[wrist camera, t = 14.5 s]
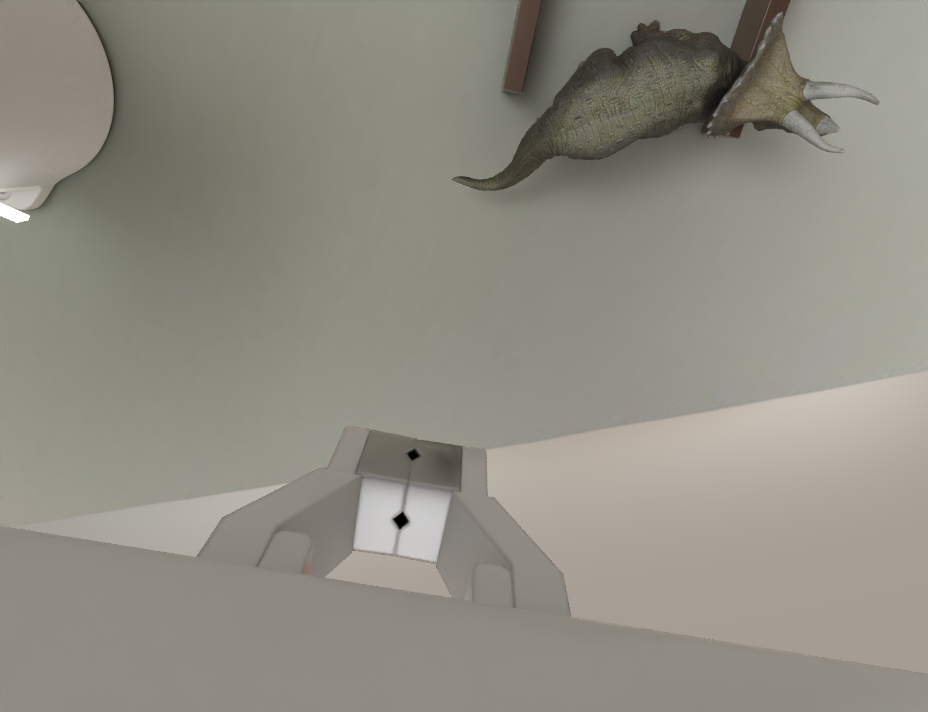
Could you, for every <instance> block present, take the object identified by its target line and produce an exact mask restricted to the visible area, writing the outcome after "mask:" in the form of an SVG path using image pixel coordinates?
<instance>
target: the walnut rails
mask: <svg viewBox="0 0 928 712" xmlns="http://www.w3.org/2000/svg"><path fill="white" fill-rule="evenodd" d="M541 1H542V0H519V3H518V8H517V14H516V19H515V24H514V29H513V34H512V39H511V44H510V49H509V54H508V59H507V64H506V69H505V74H504V79H503V85H502V90H501V91H503V92H507V93H512V94H517V95H518V94H520V93H521V92H522V91H523V86H524V82H525V77H526V72H527V67H528V63H529V58H530V53H531V49H532V44H533V39H534V34H535V30H536V25H537V20H538V15H539V11H540V6H541ZM789 3H790V0H747V1H746V4H745V7H744V10H743V13H742V16H741V19H740V22H739V25H738V28H737V30H736V33H735V36H734V39H733V42H732V45H731V48H730V50H732V51H734V52H736V53H737V54H738V55H739V57H740V58H741V59H742V60H744V61H746V62H748V61H749V59H750V57H751V56H752V54H753V52H754V50H755V48H756V46H757V44H758V42H759V40H760V38H761V36H762V34H763V32H764V30H765V29H766V27H767V25H768V24H769V23H770V22H771V21H772V20H773V19H774V17H775V16H776V15H777V14H778V13H781V12H783V15H782V16H783V19H784V16H785V13H786V11H787V8H788V5H789ZM713 114H714V112H713V113H712V115H711V116H710V117H709V118H707V119H706V121H705V123H704V126H703V129H702V132H701V133H702V134H704V135H709V134H706V133H707V131H708V129H709V128H707V125H708V123H709V121H710V119H711V117H712V116H713ZM744 124H745V123H744ZM744 124H742V125H739V126H738V127H736V128H734V129H733V130H732V131H731V132H730V134H729V135H728V136H727V135H725V134H720V135H719V136H718V137H724V138H739V137H740V134H741V132H742V129H743V126H744Z"/></svg>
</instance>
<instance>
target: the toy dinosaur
mask: <svg viewBox="0 0 928 712" xmlns="http://www.w3.org/2000/svg"><path fill="white" fill-rule="evenodd" d="M782 15H783V12H781V13H778V14H777V15H776V16H775V17H774V19H773V20H772V21H771V22H770V23H769V24H768V25H767V27H766V29H765V30H764V32H763V34H762V36H761V38H760V40H759V42H758V44H757V46H756V48H755V50H754V52H753V54H752V56H751V57H750V59H749V61H748V62H746V61H744V60H742V59H741V58H740V57H739V55H738V54H737V53H736V52H734V51H732V50H730V49H729V48H728V47H726V46H725V45H723V44H722V43H721V42H720V40H719V38H718V37H717V36H716V35H715V34H713V33H709V32H702V33H692V32H689V31H687V30H685V29H673V30H670V31H659V24H660V23H659V21H658V20H655V21H654V22H652V23H651V24H650V25H649V26H648V27H646V26H645V25H644V24H643V23H640V24H639V25H638V30H637V31H633V32H632V34H631V38H632V41H633V47H629V48H628V49H627V50H625V51H624V52H623V53H622V54H621V55H620V56H616V54H615V52H614V51H613V50H611V49H609V48H601V49H598V50H596V51H594V52H593V53H592V54H591V55H590V56H589V57H588V58H587V59H586V60H585V62H584V61H582V62H581V63H580V65H579V67H578V69H577V71H576V72H575V73H574V74H573V76H572V77H571V78H570V80H569V81H568V82H567V83H566V85H565V86H564V87H563V88H562V89H561V91H560V92H559V93H558V94H557V95H556V96H555V98H554V102H553V106H552V107H550V108H548V109H547V110H546V112H545V113H544V114H543V115H542V117H541V118H537V121H536V122H535V123H534V124H533V125H532V126H531V128H530V129H529V130H528V131H527V132H526V134H525V136H524V137H523V139H522V140H521V142H520V144H519V146H518V149H517V151H516V153H515V155H514V157H513V160H512V162H511V163H510V164H509V165H508V167H507V168H505V169H504V170H503V171H502V172H500V173H499V174H497V175H495V176H494V177H491V178H488V179H481V180H478V179H472V178H469V177H464V176H459V177H454V178H453V179H452V180H453V181H456V182H458V183H461V184H463V185H466V186H469V187H471V188H474V189H477V190H484V191H485V190H489V191H494V190H501V189H505V188H508V187H511V186H513V185H515V184H517V183H518V182H520V181H521V180H523V179H525V178H526V177H528V176H529V175H530V174H531V173H533V172H534V170H536V169H537V168H539V166H540V165H542V163H543V162H545V161H546V160H547V159H551V158H553V157H554V156H560V155H563V156H568V157H570V158H572V159H584V160H594V159H602V158H604V157H608V156H610V155H612V154H614V153H616V152H617V151H619V150H621V149H623V148H625V147H626V146H628V145H630V144H631V143H633V142H634V141H636V140H637V139H646V138H657V137H661V136H663V135H667V134H669V133H671V132H672V131H674V130H675V129H678V130H679V129H681V128H682V127H683V124H686V123H689V124H695V123H699V122H703V121H704V120H706V119H707V118H709V117H710V116H711V115H712V113H713V112H714V114H713V116H712V117H711V119H710V121H709V123H708V125H707V128H709V129H708V131H707V133H706V134H709V136H708V138H709V139H710V138H711V137H712V136H714V137H715V138H717V137H718V136H719V135H720V134H725V135H727V136H728V135H729V134H730V132H731V131H732V130H733V129H734V128H736V127H738V126H739V125H742V124H744V123H748V122H752V123H753V124H754V128H755V129H756V130H757V131H762V130H765V129H782V130H784V131H786V132H787V133H794V134H797V135H799V136H800V137H802V138H803V139H805V140H806V141H808V142H809V143H811V144H812V145H814V146H816V147H817V148H819V149H821V150H824V151H827V152H833V153H843V152H844V149H842V148H838V147H834V146H831V145H829V144H828V143H827V142H825V141H824V140H823V139H822V138H821V136H823V135H827V134H830V133H835V132H838V131H840V128H839V126H838V125H837V124H836V123H835V122H834V121H833V120H832V119H831V118H830V116H829V115H828V114H825V113H824V112H822V111H821V110H819V109H818V108H816V107H815V106H814V105H813V104H812V103H811V101H810V100H814V99H826V98H840V97H854V98H860V99H863V100H866V101H868V102H871V103H873V104H875V105H879V104H880V102H879V101H878V100H877V99H876V98H875V97H874V96H873V95H872V94H870V93H868V92H866V91H863V90H861V89H859V88H856V87H852V86H849V85H845V84H839V83H831V82H813V81H810V80H809V79H805V78H802V77H800V76H799V75H798V74H797V73H796V72H795V70H794V68H793V66H792V63H791V61H790V57H789V52H788V49H787V45H786V42H785V36H784V34H783V32H782V24H783V16H782Z"/></svg>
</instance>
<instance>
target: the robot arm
mask: <svg viewBox="0 0 928 712" xmlns="http://www.w3.org/2000/svg"><path fill="white" fill-rule="evenodd" d="M113 108H114V91H113V82H112V76H111V71H110V67H109V63H108V60H107V56H106V53H105V51H104V48H103V45H102V43H101V41H100V38H99V36H98V34H97V32H96V30H95V28H94V26H93V25H92V23H91V21H90V19H89V18H88V16H87V15H86V13H85V12H84V10H83V9H82V7H81V6H80V5H79V3H78V2H77V1H76V0H0V215H1V216H3V217H5V218H8V219H10V220H12V221H15V222H21V221H25V220H29V215H26V214H24V213H22V212H20V211H17V210H33V209H36V208H38V207H39V206H41V205H42V204H43V202H44V201H45V200H46V198H47V197H48V195H49V194H50V192H51V190H52V189H53V187H54V185H55V184H56V183H57V182H59V181H60V180H62V179H63V178H65V177H67V176H69V175H71V174H73V173H75V172H77V171H79V170H80V169H82V168H83V167H85V166H86V165H87V164H88V163H89V162H90V161H91V160H92V159H93V158H94V157H95V156H96V155H97V154H98V152H99V151H100V149H101V148H102V146H103V144H104V142H105V140H106V138H107V136H108V133H109V130H110V126H111V122H112V117H113ZM10 207H11V208H10ZM13 208H14V209H13ZM15 209H17V210H15ZM487 492H488V490H487V457H486V450H485V449H480V448H473V447H466V446H458V445H451V444H444V443H438V442H431V441H424V440H418V439H416V438H411V437H406V436H401V435H396V434H391V433H386V432H381V431H376V430H371V431H370V429H366V428H360V427H354V426H347V427H345V428H344V431H343V433H342V435H341V438H340V440H339V442H338V444H337V447H336V449H335V451H334V454H333V456H332V458H331V460H330V463H329V465H328V467H327V469H323V468H319V469H317V470H315V471H313V472H311V473H309V474H307V475H305V476H303V477H301V478H299V479H297V480H295V481H293V482H291V483H289V484H287V485H285V486H283V487H281V488H279V489H278V490H275V491H274V492H272V493H270V494H268V495H266V496H264V497H262V498H260V499H258V500H256V501H254V502H252V503H250V504H248V505H246V506H244V507H242V508H240V509H238V510H236V511H234V512H232V513H230V514H228V515H226V516H224V517H222V519H221V520H220V522H219V523H218V525H217V526H216V528H215V529H214V531H213V532H212V534H211V535H210V537H209V539H208V540H207V542H206V543H205V545H204V546H203V548H202V549H201V551H200V552H199V554H198V555H197V557H192V556H185V555H179V554H173V553H167V552H160V551H154V550H148V549H141V548H135V547H129V546H122V545H116V544H110V543H103V542H98V541H91V540H85V539H79V538H72V537H66V536H60V535H53V534H48V533H41V532H35V531H29V530H23V529H16V528H10V527H4V526H0V712H928V674H924V673H917V672H911V671H905V670H899V669H892V668H886V667H880V666H874V665H868V664H861V663H855V662H848V661H842V660H836V659H829V658H824V657H817V656H811V655H804V654H799V653H792V652H786V651H780V650H774V649H767V648H761V647H755V646H748V645H742V644H736V643H730V642H723V641H717V640H711V639H705V638H699V637H692V636H686V635H680V634H674V633H668V632H661V631H655V630H649V629H642V628H636V627H629V626H624V625H617V624H611V623H605V622H599V621H592V620H586V619H580V618H574V617H571V613H570V608H569V602H568V598H567V592H566V586H565V581H564V576H563V573H562V572H561V571H560V570H559V569H558V568H557V567H556V566H555V564H554V563H553V562H552V561H551V560H550V559H549V558H548V557H547V556H546V554H545V553H544V552H543V551H542V550H541V549H540V548H539V547H538V546H537V544H536V543H535V542H534V541H533V540H532V539H531V538H530V537H529V536H528V534H526V532H525V531H524V530H523V529H522V528H521V527H520V526H519V525H518V524H517V522H516V521H515V520H514V519H513V518H512V517H511V516H510V515H509V514H508V512H507V511H506V510H505V509H504V508H503V507H502V506H501V505H500V504H499V502H498V501H497V500H496V499H495V498H493V497H488V493H487ZM352 551H360V552H367V553H375V554H382V555H390V556H397V557H401V558H407V559H412V560H418V561H422V562H428V563H433V564H436V567H437V569H438V571H439V573H440V575H441V577H442V579H443V581H444V583H445V584H446V587H447V588H448V590H449V592H450V594H451V596H452V598H447V597H442V596H435V595H429V594H423V593H416V592H410V591H404V590H398V589H392V588H385V587H379V586H373V585H367V584H360V583H354V582H348V581H342V580H335V579H329V578H324V577H325V576H326V575H327V574H329V573H330V572H331V571H332V570H333V569H334V568H335V567H336V566H338V565H339V564H340V563H341V562H342V561H343V560H344V559H345V558H346V557H348V556H349V555H350V554H351V553H352ZM395 551H396V552H395Z"/></svg>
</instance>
